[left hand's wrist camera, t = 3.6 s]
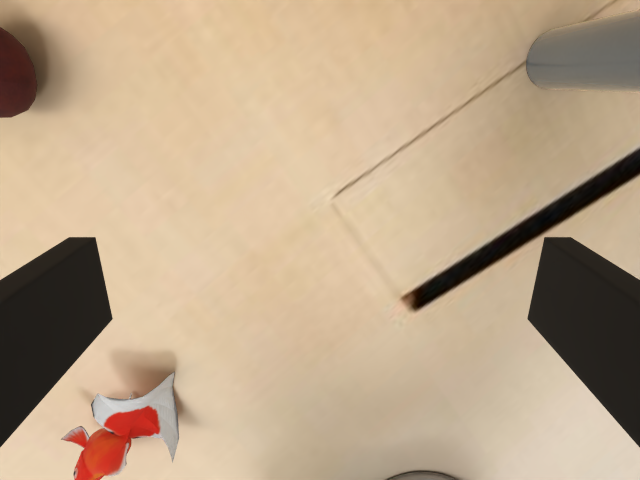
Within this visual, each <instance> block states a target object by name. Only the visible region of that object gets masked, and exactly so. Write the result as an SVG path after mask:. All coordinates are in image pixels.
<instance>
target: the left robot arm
mask: <svg viewBox="0 0 640 480" xmlns="http://www.w3.org/2000/svg"><path fill="white" fill-rule="evenodd" d="M111 320H112V314H111V309H110V305H109V300H108V295H107V290H106V286H105V281H104V276H103V271H102V267H101V262H100V257H99V252H98V247H97V243H96V238H95V237H69V238H67V239H66V240H64V241H63V242H61V243H59V244H58V245H56V246H55V247H53V248H51V249H50V250H48V251H46V252H45V253H43V254H42V255H40V256H38V257H37V258H35V259H34V260H32V261H30V262H29V263H27V264H26V265H24V266H22V267H21V268H19V269H17V270H16V271H14V272H13V273H11V274H9V275H8V276H6V277H5V278H3V279H1V280H0V447H1V446H2V445H3V444H4V442H5V441H6V440H7V439H8V438H9V437H10V436H11V434H12V433H13V432H14V431H15V430H16V429H17V428H18V426H19V425H20V424H21V423H22V422H23V421H24V420H25V418H26V417H27V416H28V415H29V414H30V413H31V412H32V410H33V409H34V408H35V407H36V406H37V405H38V404H39V402H40V401H41V400H42V399H43V398H44V397H45V396H46V394H47V393H48V392H49V391H50V390H51V389H52V388H53V386H54V385H55V384H56V383H57V382H58V381H59V380H60V378H61V377H62V376H63V375H64V374H65V373H66V372H67V370H68V369H69V368H70V367H71V366H72V365H73V364H74V362H75V361H76V360H77V359H78V358H79V357H80V356H81V354H82V353H83V352H84V351H85V350H86V349H87V348H88V346H89V345H90V344H91V343H92V342H93V341H94V340H95V338H96V337H97V336H98V335H99V334H100V333H101V332H102V330H103V329H104V328H105V327H106V326H107V325H108V324H109V322H110V321H111ZM528 320H529V321H530V322H531V324H532V325H533V326H534V327H535V328H536V329H537V330H538V332H539V333H540V334H541V335H542V336H543V337H544V338H545V340H546V341H547V342H548V343H549V344H550V345H551V346H552V348H553V349H554V350H555V351H556V352H557V353H558V354H559V356H560V357H561V358H562V359H563V360H564V361H565V362H566V364H567V365H568V366H569V367H570V368H571V369H572V370H573V372H574V373H575V374H576V375H577V376H578V377H579V378H580V380H581V381H582V382H583V383H584V384H585V385H586V386H587V388H588V389H589V390H590V391H591V392H592V393H593V394H594V396H595V397H596V398H597V399H598V400H599V401H600V402H601V404H602V405H603V406H604V407H605V408H606V409H607V410H608V412H609V413H610V414H611V415H612V416H613V417H614V418H615V420H616V421H617V422H618V423H619V424H620V425H621V426H622V428H623V429H624V430H625V431H626V432H627V433H628V434H629V436H630V437H631V438H632V439H633V440H634V441H635V442H636V444H637V445H638V446H639V447H640V280H639V279H637V278H635V277H634V276H632V275H631V274H629V273H627V272H626V271H624V270H623V269H621V268H619V267H618V266H616V265H614V264H613V263H611V262H610V261H608V260H606V259H605V258H603V257H602V256H600V255H598V254H597V253H595V252H594V251H592V250H590V249H589V248H587V247H585V246H584V245H582V244H581V243H579V242H577V241H576V240H574V239H573V238H571V237H545V238H544V243H543V247H542V252H541V257H540V262H539V267H538V271H537V276H536V281H535V286H534V290H533V295H532V300H531V305H530V309H529V314H528ZM389 480H456V479H454V478H451V477H449V476H446V475H443V474H439V473H433V472H413V473H407V474H402V475H399V476H396V477H393V478H391V479H389Z"/></svg>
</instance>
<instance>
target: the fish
mask: <svg viewBox="0 0 640 480" xmlns="http://www.w3.org/2000/svg"><path fill="white" fill-rule="evenodd" d="M174 374H175V372H173V373H172V374H170V375H169V376H168V377H167V378H166V379H165V380H164V381H163V382H162V383H161V384H160V385H159V386H157V387H156V388H155V389H153V390H152V391H150V392H149V393H147V394H146V395H145V396H143V397H140V398H135V399H131V395H132V393H131V395H130V397H129V399H114V398H108V397H104V396H102V395H100V394H97V395H96V397H95V399H94V401H93V402H92V404H91V406H92V411H93V416H94V418H95V419H96V421H97V422H98V423H99V424H100V425H101V426H102V427H104V428H103V429H100V430H98V431H96V432H95V433H93V434H92V435H91V437H90V438H89V436H88V434H87V432H86V430H85V429H84V428H83V427H82V426H80V427H77V428H75V429H73V430H71V431H70V432H69V433H68V434H67V435H66V436H64V437H63V438H62V439H63V440H66V441H71V442H73V443H76V444H78V445H80V446H82V447H83V448H85V449H84V450H83V451H82V452H81V454H80V457H79V460H78V462H77V464H76V467H75V470H74V478H75V480H100V479H101V478H102V477H103V476H104V475H106V476H114V475H118V474H119V473H120V472H121V471H122V470H123V469H124V467H125V466H126V455H127V453H128V451H129V449H130V447H131V438H141V437H155V438H162V439H163V440H164V442H165V443H166V445H167V446H168V449H169V451H170V454H171V457H172V463H173V459H174V455H175V452H176V448H177V444H178V440H179V431H178V414H177V409H176V404H175V398H174V393H173V381H174ZM62 439H61V440H62Z"/></svg>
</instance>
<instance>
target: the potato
mask: <svg viewBox="0 0 640 480" xmlns="http://www.w3.org/2000/svg"><path fill="white" fill-rule="evenodd" d="M36 90H37V82H36V77H35V71H34V66H33V64H32V62H31V60H30V58H29V56H28V54H27V52H26V49H25V47H24V46H23V45H21V44H20V43H19V42H18V41H17V40H16V39H15V38H14V37H13V36H12V35H11V34H9V33H8V32H7V31H5V30H4V29H2V28H1V27H0V118H2V117H13V116H16V115H18V114H20V113H22V112H24V111H27V110H28V109H29V108H30V106H31V105H32V103H33V102H34V100H35V96H36Z"/></svg>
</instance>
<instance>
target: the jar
mask: <svg viewBox="0 0 640 480" xmlns="http://www.w3.org/2000/svg"><path fill="white" fill-rule="evenodd" d="M526 68H527V73H528V76H529V78H530V80H531V81H532V82H533V83H534V84H535V85H536V86H538V87H540V88H543V89H549V90H578V91H607V92H636V93H640V9H638V10H634V11H630V12H625V13H621V14H616V15H612V16H607V17H603V18H599V19H594V20H590V21H585V22H581V23H577V24H572V25H568V26H563V27H559V28H555V29H551V30H549V31H547V32H545V33H543V34H542V35H541V36H540V37H539V38H538V39H537V40H536V41H535V42H534V43H533V45H532V46H531V48H530V50H529V53H528V56H527V61H526Z"/></svg>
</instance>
